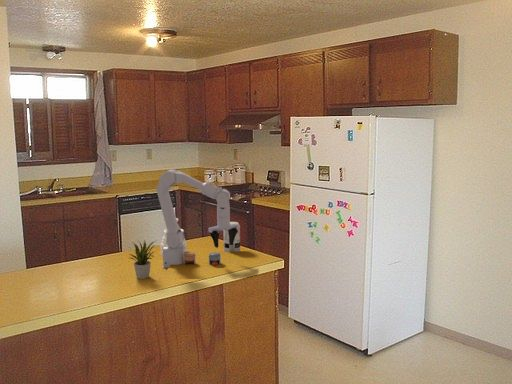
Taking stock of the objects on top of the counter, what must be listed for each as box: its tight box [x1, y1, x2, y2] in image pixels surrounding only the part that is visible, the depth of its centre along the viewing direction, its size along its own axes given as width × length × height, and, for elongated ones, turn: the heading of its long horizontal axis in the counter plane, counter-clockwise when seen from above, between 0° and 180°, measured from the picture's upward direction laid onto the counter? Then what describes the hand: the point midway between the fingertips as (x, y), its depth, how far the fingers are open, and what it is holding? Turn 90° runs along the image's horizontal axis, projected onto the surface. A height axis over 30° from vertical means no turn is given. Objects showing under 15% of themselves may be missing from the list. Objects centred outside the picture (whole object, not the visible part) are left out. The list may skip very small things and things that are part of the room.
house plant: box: [125, 240, 157, 280], centre depth 209 cm, size 14×14×16 cm
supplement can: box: [223, 221, 241, 253], centre depth 245 cm, size 8×8×15 cm
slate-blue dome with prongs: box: [208, 252, 222, 265], centre depth 223 cm, size 5×5×6 cm
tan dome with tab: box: [183, 252, 197, 265], centre depth 223 cm, size 5×5×6 cm
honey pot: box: [160, 217, 188, 257], centre depth 244 cm, size 13×13×18 cm
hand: (223, 245), depth 222 cm, fingers open, 7 cm apart
